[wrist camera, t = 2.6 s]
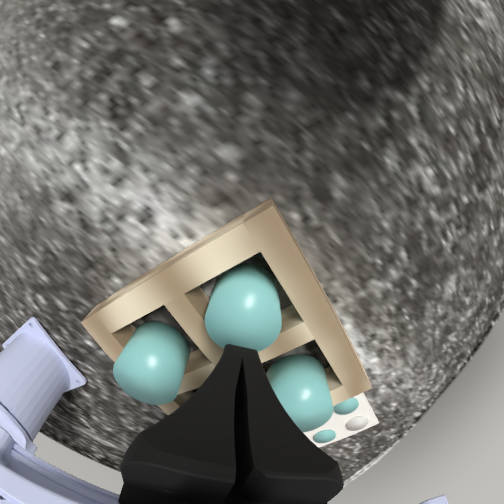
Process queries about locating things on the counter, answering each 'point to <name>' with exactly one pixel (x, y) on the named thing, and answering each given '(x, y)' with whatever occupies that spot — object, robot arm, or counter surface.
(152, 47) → the counter surface
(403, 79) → the counter surface
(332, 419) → the tile
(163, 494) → the robot arm
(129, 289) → the wooden compartment tray
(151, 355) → the button
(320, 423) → the button
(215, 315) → the button
